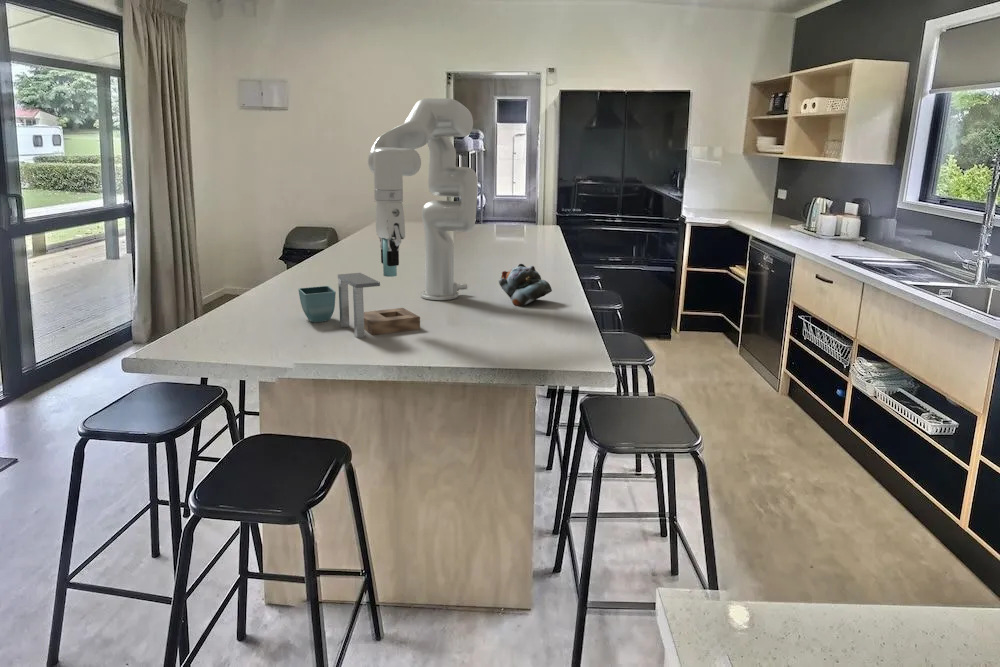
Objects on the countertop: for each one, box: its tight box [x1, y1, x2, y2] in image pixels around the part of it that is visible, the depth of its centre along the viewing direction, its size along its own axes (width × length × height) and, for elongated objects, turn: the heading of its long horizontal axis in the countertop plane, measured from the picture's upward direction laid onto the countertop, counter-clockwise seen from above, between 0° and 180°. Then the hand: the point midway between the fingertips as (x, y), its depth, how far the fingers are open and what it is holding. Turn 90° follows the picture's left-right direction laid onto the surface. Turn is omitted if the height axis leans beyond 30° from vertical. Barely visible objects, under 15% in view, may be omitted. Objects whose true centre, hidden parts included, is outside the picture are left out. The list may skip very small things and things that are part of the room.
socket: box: [364, 307, 421, 336], centre depth 199 cm, size 14×12×4 cm
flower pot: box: [297, 285, 336, 323], centre depth 204 cm, size 9×9×9 cm
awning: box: [337, 272, 381, 339], centre depth 193 cm, size 6×15×14 cm, turn 31°
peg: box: [382, 237, 398, 278], centre depth 195 cm, size 4×4×10 cm
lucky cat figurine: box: [498, 263, 553, 308], centre depth 232 cm, size 15×12×14 cm
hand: (390, 263), depth 195 cm, fingers closed on peg, 3 cm apart
